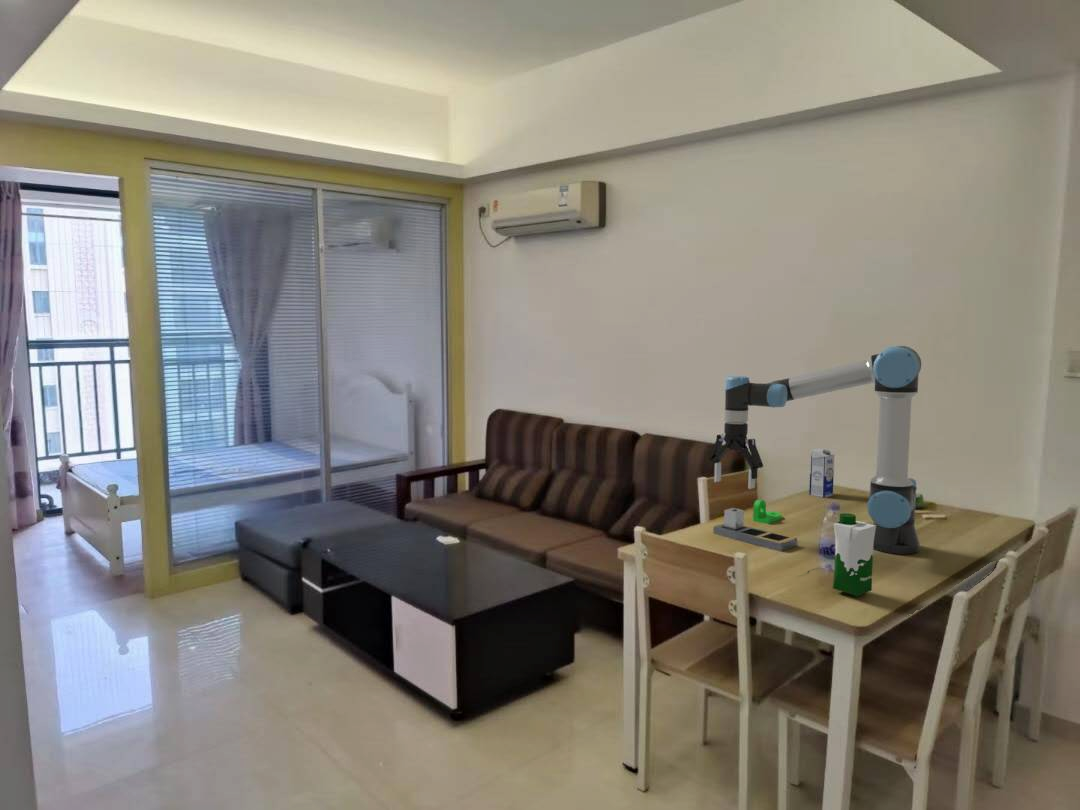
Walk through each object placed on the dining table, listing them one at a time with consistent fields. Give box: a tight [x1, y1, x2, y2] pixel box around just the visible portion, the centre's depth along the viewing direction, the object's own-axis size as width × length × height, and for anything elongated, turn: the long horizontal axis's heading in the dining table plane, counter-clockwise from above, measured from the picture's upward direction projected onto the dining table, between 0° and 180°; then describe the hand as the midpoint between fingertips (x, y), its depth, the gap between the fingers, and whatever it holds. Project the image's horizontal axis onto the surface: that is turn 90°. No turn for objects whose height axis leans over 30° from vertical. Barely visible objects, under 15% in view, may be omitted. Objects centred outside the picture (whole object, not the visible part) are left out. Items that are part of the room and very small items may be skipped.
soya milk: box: [832, 513, 876, 597], centre depth 195 cm, size 9×9×20 cm
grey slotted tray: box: [712, 523, 798, 552], centre depth 243 cm, size 26×9×3 cm, turn 40°
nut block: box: [723, 507, 745, 531], centre depth 248 cm, size 4×4×8 cm
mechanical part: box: [752, 499, 783, 525], centre depth 267 cm, size 12×6×8 cm, turn 134°
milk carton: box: [808, 447, 835, 499], centre depth 301 cm, size 7×7×20 cm
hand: (734, 484), depth 247 cm, fingers open, 13 cm apart
